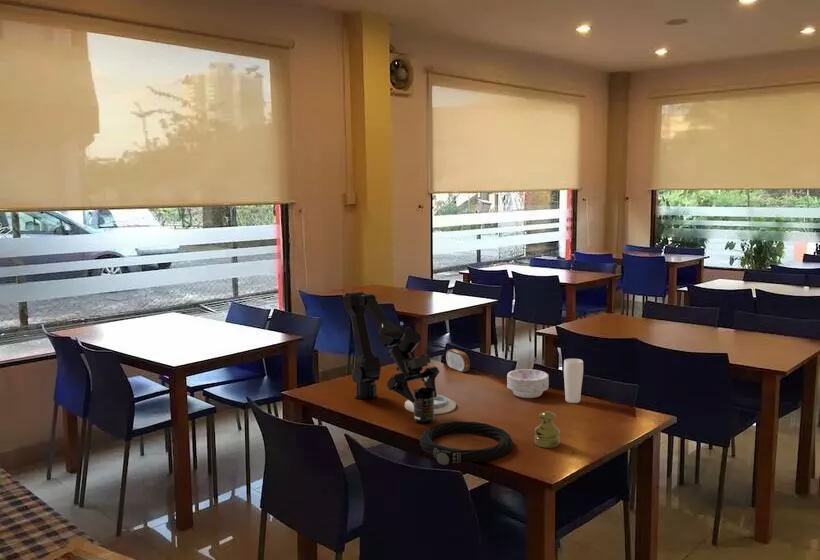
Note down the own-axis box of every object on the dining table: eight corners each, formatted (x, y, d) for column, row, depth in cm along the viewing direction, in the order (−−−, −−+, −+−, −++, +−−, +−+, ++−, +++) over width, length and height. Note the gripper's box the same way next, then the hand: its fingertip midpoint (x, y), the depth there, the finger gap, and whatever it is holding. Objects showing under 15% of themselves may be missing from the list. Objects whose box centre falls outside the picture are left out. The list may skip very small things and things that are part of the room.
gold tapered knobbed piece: (530, 445, 205) (530, 412, 204) (540, 437, 211) (540, 406, 210) (553, 450, 201) (554, 417, 200) (563, 442, 207) (564, 410, 206)
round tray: (396, 410, 238) (396, 403, 238) (416, 396, 255) (416, 389, 254) (444, 417, 231) (444, 410, 231) (462, 402, 247) (462, 395, 247)
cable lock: (525, 427, 210) (489, 461, 184) (524, 439, 211) (489, 475, 185) (442, 414, 223) (398, 444, 197) (442, 426, 224) (398, 457, 197)
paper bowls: (506, 399, 250) (506, 378, 249) (507, 388, 265) (507, 368, 264) (548, 401, 247) (549, 380, 246) (548, 389, 262) (548, 369, 261)
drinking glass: (562, 403, 245) (563, 362, 243) (563, 398, 251) (564, 357, 249) (581, 405, 243) (582, 363, 241) (582, 399, 249) (583, 359, 247)
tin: (470, 373, 287) (470, 353, 285) (464, 374, 285) (464, 354, 284) (450, 365, 299) (450, 346, 298) (444, 366, 298) (444, 347, 297)
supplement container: (438, 420, 228) (438, 389, 227) (426, 425, 223) (425, 394, 222) (422, 416, 232) (421, 386, 231) (409, 421, 227) (409, 390, 226)
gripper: (391, 351, 223) (413, 391, 215) (435, 342, 234) (457, 381, 227) (378, 370, 230) (398, 410, 223) (421, 361, 241) (442, 399, 234)
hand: (424, 399), depth 226 cm, fingers open, 9 cm apart
